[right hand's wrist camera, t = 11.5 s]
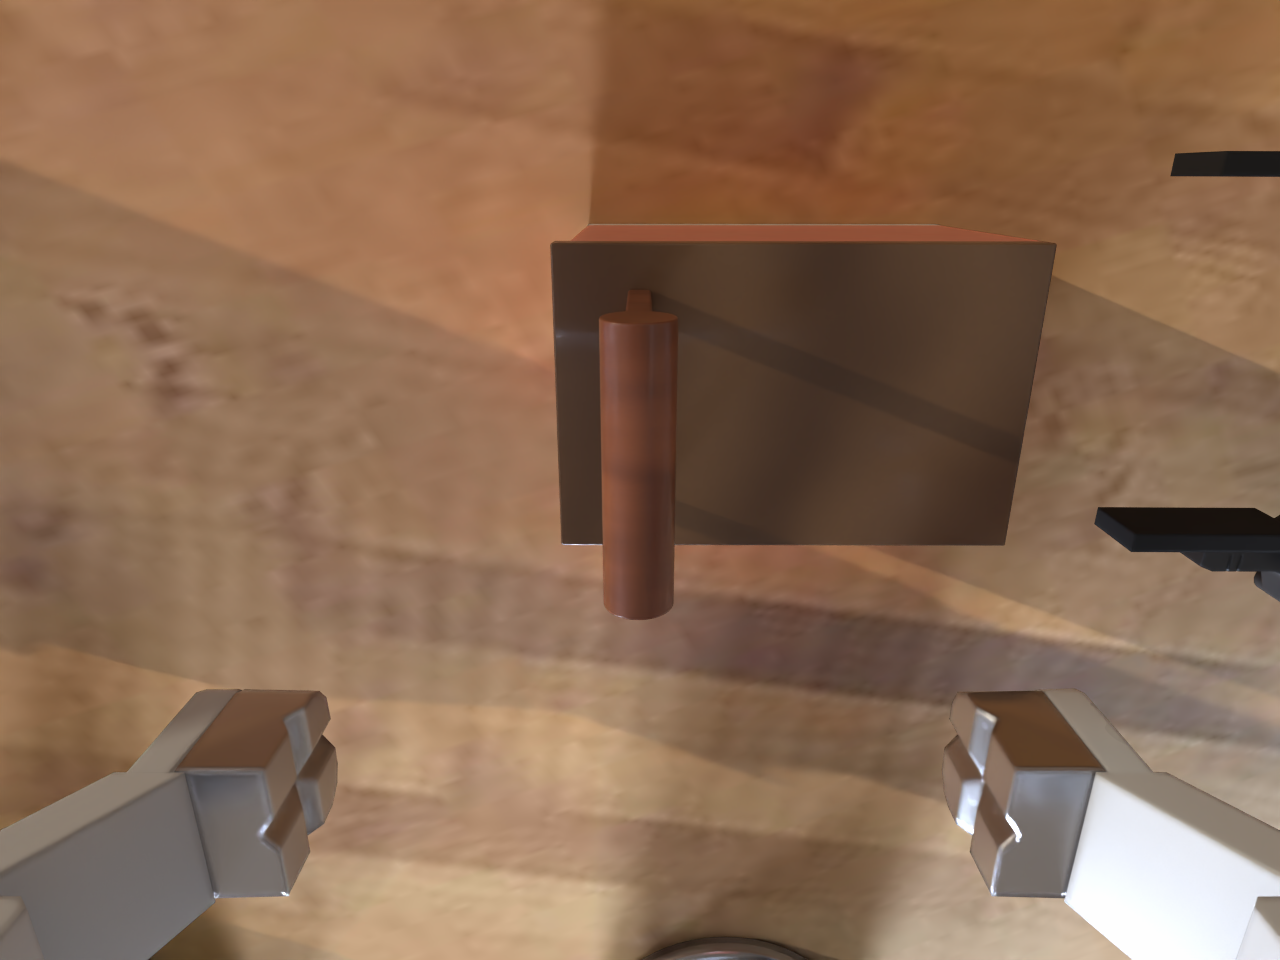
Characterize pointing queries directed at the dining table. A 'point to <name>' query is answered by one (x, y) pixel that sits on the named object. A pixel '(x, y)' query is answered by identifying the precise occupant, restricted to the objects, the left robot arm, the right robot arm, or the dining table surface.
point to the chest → (784, 232)
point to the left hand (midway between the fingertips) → (1150, 360)
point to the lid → (788, 396)
